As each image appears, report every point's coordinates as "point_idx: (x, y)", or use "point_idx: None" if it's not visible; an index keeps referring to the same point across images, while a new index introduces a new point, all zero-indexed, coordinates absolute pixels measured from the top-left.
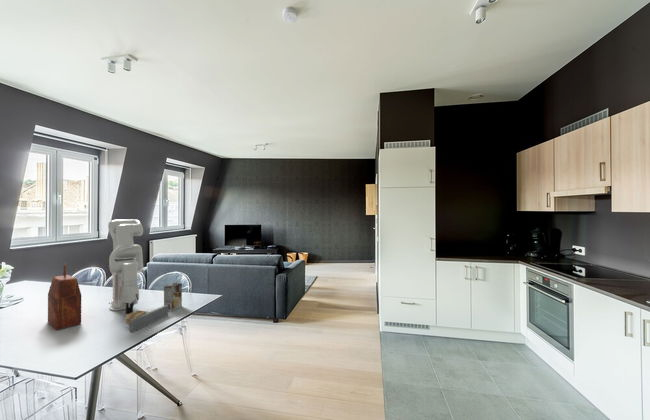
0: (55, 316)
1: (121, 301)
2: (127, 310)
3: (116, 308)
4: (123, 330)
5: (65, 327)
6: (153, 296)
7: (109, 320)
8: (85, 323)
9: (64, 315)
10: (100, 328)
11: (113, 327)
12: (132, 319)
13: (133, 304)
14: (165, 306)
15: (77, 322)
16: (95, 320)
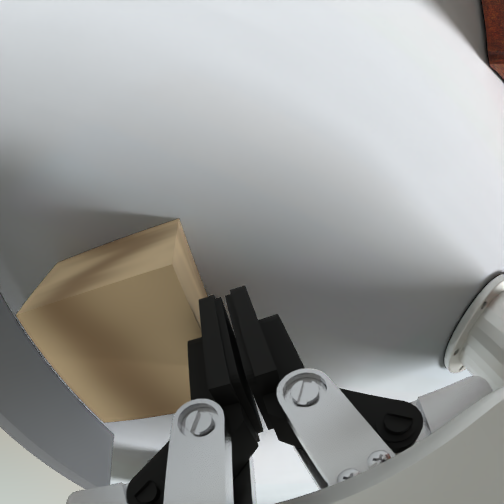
0: None
1: (471, 453)
2: (212, 337)
3: (489, 299)
4: (2, 123)
5: (482, 3)
6: None
7: (409, 172)
8: (479, 76)
9: None
10: (284, 9)
11: (170, 77)
12: (76, 271)
13: (122, 484)
14: (74, 482)
15: (497, 45)
16: (479, 134)
